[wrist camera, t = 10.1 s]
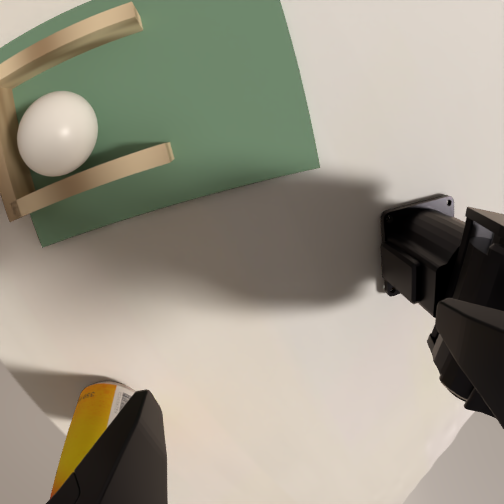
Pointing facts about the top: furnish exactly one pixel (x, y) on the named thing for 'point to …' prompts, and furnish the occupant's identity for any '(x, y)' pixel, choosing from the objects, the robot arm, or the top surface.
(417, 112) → the top surface
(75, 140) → the golf ball
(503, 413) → the robot arm
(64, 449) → the orange cylindrical container
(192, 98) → the putting mat
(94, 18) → the u-shaped wooden rail
